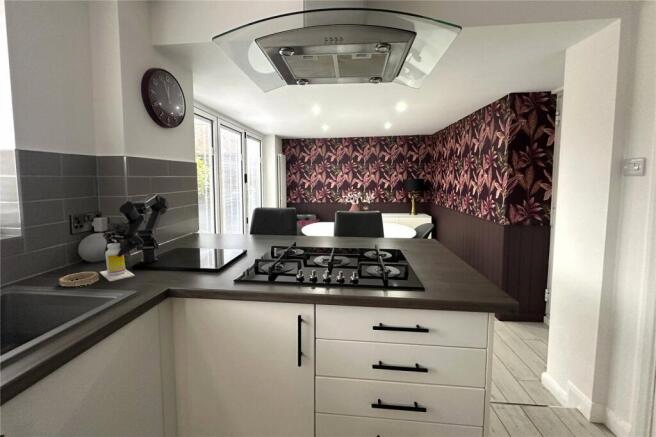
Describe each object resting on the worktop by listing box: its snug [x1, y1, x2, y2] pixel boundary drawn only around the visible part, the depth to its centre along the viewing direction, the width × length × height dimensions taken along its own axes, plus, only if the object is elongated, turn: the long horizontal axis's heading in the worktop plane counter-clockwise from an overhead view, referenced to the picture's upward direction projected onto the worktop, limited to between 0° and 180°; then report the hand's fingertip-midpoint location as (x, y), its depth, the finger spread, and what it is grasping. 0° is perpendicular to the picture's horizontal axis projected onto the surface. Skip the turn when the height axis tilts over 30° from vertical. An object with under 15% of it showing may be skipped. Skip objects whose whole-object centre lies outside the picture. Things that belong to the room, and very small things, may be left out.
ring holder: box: [58, 271, 100, 287], centre depth 131 cm, size 12×12×2 cm
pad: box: [99, 268, 135, 282], centre depth 140 cm, size 16×9×1 cm, turn 47°
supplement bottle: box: [104, 242, 126, 275], centre depth 140 cm, size 7×7×13 cm
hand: (111, 255), depth 138 cm, fingers open, 8 cm apart
